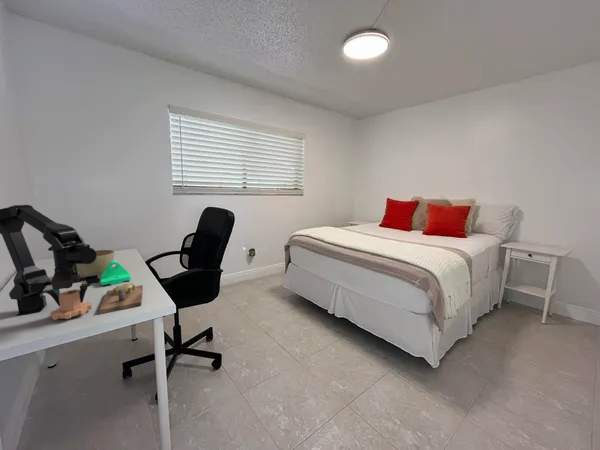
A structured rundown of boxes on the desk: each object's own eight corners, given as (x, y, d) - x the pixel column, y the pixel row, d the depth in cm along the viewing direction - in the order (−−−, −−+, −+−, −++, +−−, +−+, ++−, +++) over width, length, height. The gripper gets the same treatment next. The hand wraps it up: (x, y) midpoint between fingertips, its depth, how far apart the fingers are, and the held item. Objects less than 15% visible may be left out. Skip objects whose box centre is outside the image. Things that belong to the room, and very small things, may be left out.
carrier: (99, 313, 92) (97, 298, 91) (108, 294, 110) (106, 280, 109) (141, 305, 98) (139, 291, 97) (142, 288, 116) (141, 275, 115)
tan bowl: (98, 281, 125) (95, 257, 124) (63, 281, 126) (60, 257, 124) (124, 270, 143) (122, 249, 142) (93, 270, 144) (90, 249, 142)
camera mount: (101, 287, 118) (99, 266, 116) (100, 283, 123) (97, 263, 122) (131, 281, 126) (130, 261, 124) (129, 277, 131) (127, 258, 130)
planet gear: (45, 322, 84) (42, 301, 83) (56, 309, 93) (53, 290, 92) (88, 314, 89) (86, 294, 88) (94, 302, 99) (92, 284, 98)
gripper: (18, 273, 77) (25, 320, 79) (94, 264, 87) (99, 306, 89) (32, 264, 87) (39, 306, 89) (100, 257, 96) (104, 295, 98)
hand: (71, 304), depth 91 cm, fingers closed on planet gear, 6 cm apart
